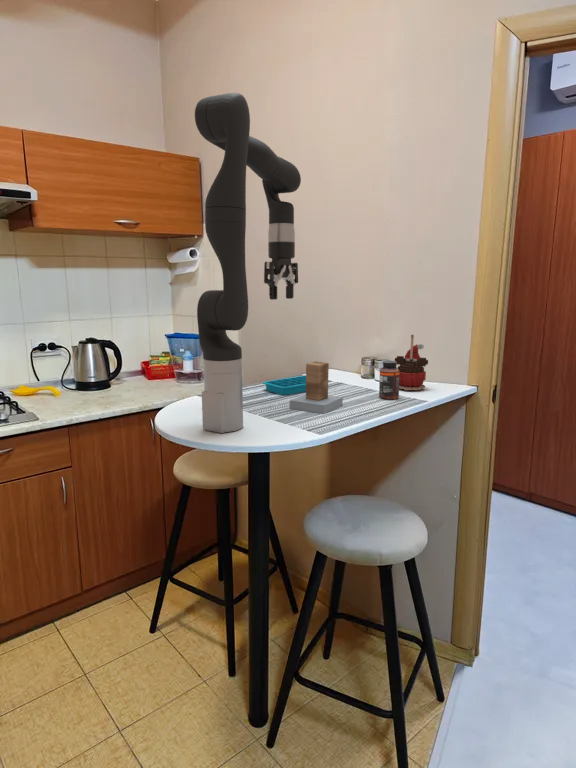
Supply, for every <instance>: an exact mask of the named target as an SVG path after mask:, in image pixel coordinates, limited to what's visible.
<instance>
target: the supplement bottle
mask: <svg viewBox="0 0 576 768" xmlns="http://www.w3.org/2000/svg"><path fill="white" fill-rule="evenodd" d="M378 386H379V388H378V389H379V390H378V396H379V399H382V400H397V399H399V397H400V389H399V369H398V366H397V362H396V361H395V360H384V361H383V362H382V367H381V368H380V369H379V385H378Z"/></svg>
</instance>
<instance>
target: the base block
mask: <svg viewBox="0 0 576 768" xmlns="http://www.w3.org/2000/svg"><path fill="white" fill-rule="evenodd" d="M343 398H344V397H343V396H334V395H329V394H328V398H326V399H323V400H320V401H316V400H312V399H307V398H306V393H305V394H303V395H300V396H297V397H295V398H292V399H290V400H289V409H290V410H296V411H301V412H308V413H314V412H315V414H322V415H326V414H327V413H330V412H332V411H334V410H336V409H338V408H340V407H343V401H344V400H343ZM325 413H326V414H325Z"/></svg>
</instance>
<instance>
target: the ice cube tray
mask: <svg viewBox="0 0 576 768" xmlns="http://www.w3.org/2000/svg"><path fill="white" fill-rule="evenodd" d="M262 384H264V385H265V390H268V391H267V392H270V391H271V392H270V393H273V392H274V393H275V394H277V395H281V396H289V395H294V394H298V393H299V394H300V393H304V392H305V393H306V374H305V375H300V376H293V377H287V378H285V377H284V378H280V379H274V380H267V381H263V382H262Z"/></svg>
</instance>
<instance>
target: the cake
mask: <svg viewBox="0 0 576 768" xmlns="http://www.w3.org/2000/svg"><path fill="white" fill-rule="evenodd" d="M414 338H415V336H414V334H410V348H409V349H408V350H407V351H406V353H405V355H404V356H403V355H397V356H396V357H395V358H394V361H396V366H397V365H399V366H397V368H398V369H399V390H402V389H404V390H403V391H408V390H415V391H418V390H419V391H420V390H424V389H425V388H426V385H425V384H424V381H426V377H427V375H426V373H427V372H426V371H425V367H426V366H427V365H428V364H429V360H428V359H427V357H421V356H420V353H419V350H423V349H424V347H425V345H424V343H417V344H414V340H415V339H414Z"/></svg>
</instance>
